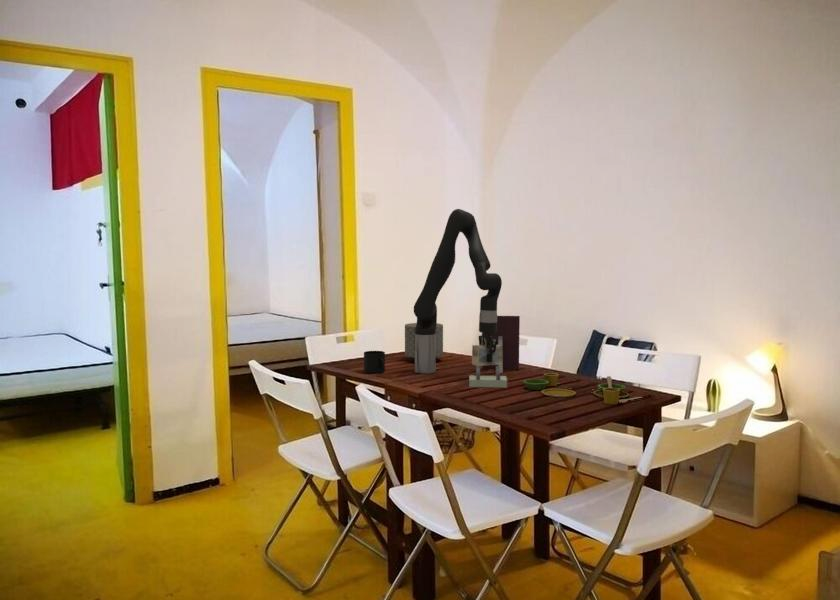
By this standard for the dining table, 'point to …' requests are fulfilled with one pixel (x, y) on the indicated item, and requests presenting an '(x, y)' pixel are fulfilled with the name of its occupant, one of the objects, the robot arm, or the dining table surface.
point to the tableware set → (550, 379)
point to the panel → (481, 355)
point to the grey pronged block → (488, 380)
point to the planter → (411, 340)
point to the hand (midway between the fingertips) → (486, 361)
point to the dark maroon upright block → (507, 342)
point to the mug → (374, 362)
